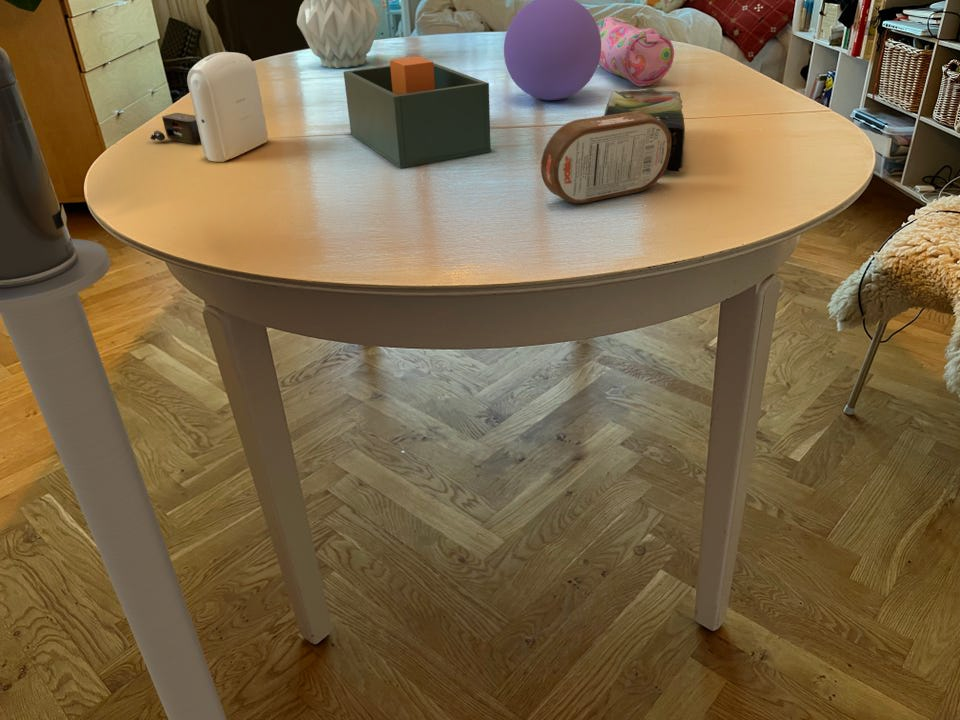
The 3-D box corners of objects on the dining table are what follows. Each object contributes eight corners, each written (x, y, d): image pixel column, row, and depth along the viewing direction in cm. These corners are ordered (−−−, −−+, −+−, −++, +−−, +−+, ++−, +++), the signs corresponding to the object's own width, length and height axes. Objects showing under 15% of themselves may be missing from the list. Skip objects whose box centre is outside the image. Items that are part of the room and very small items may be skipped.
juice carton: (604, 128, 105) (607, 82, 101) (677, 130, 103) (682, 83, 100) (595, 176, 88) (599, 123, 85) (682, 179, 86) (689, 125, 83)
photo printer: (226, 163, 97) (205, 62, 91) (200, 161, 99) (176, 60, 92) (274, 142, 105) (257, 47, 99) (248, 139, 107) (230, 46, 100)
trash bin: (400, 168, 93) (393, 96, 88) (350, 134, 107) (343, 71, 103) (490, 151, 98) (489, 83, 93) (432, 121, 112) (428, 60, 107)
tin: (655, 180, 86) (661, 104, 81) (672, 188, 83) (680, 110, 79) (538, 204, 81) (539, 123, 76) (553, 213, 78) (555, 130, 74)
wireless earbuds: (178, 134, 110) (173, 111, 109) (210, 140, 107) (205, 117, 105) (151, 142, 107) (145, 119, 105) (183, 149, 104) (177, 125, 102)
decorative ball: (573, 85, 129) (575, -13, 122) (615, 103, 117) (622, -4, 109) (491, 94, 125) (488, -6, 117) (526, 115, 113) (526, 5, 105)
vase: (329, 76, 143) (314, -34, 133) (289, 65, 154) (273, -37, 144) (400, 63, 152) (391, -41, 142) (357, 54, 163) (346, -44, 153)
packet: (410, 145, 100) (404, 65, 94) (396, 137, 103) (389, 59, 98) (438, 140, 101) (433, 61, 96) (423, 132, 105) (417, 55, 100)
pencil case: (582, 67, 142) (584, 14, 138) (628, 63, 144) (632, 11, 139) (621, 91, 124) (624, 31, 120) (673, 86, 126) (679, 28, 121)
